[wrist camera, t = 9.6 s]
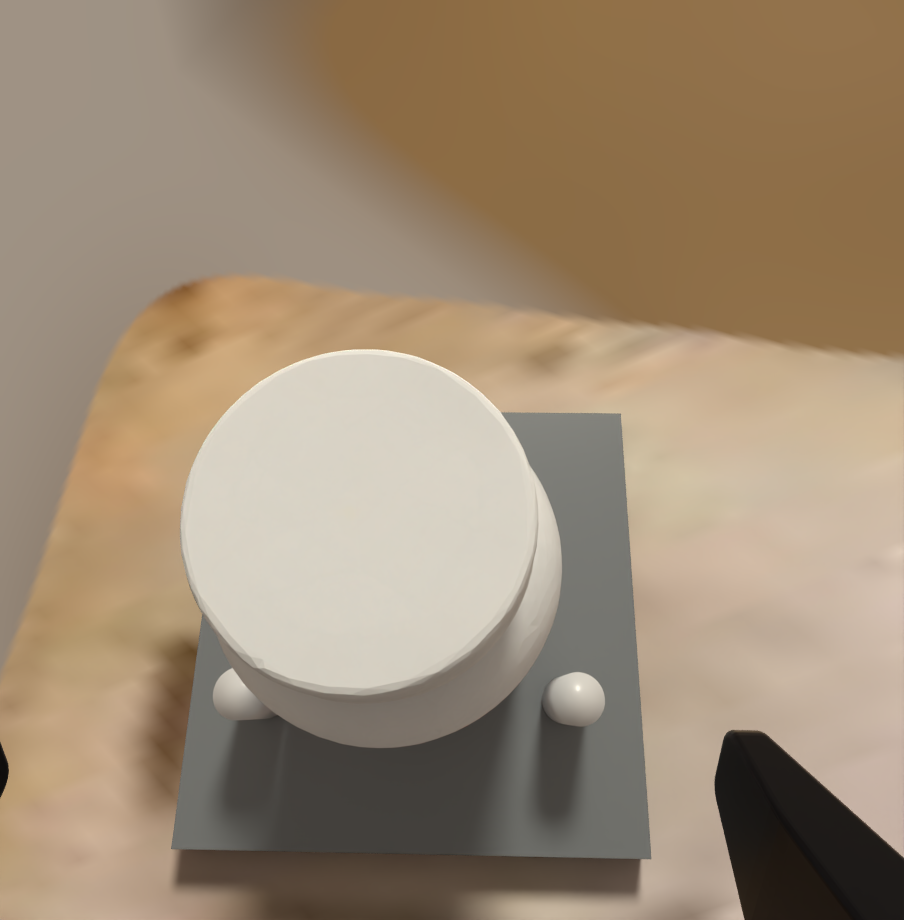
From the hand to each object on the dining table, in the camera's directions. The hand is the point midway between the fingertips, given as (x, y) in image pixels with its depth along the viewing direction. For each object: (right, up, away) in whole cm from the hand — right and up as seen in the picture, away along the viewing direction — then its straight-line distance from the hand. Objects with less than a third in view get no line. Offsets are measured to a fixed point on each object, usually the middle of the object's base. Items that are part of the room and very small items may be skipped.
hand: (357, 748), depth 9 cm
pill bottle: (0, -1, +11) cm, 11 cm away
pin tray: (0, -1, +12) cm, 12 cm away
